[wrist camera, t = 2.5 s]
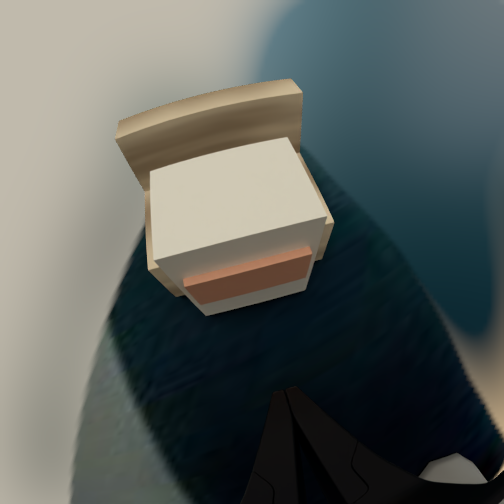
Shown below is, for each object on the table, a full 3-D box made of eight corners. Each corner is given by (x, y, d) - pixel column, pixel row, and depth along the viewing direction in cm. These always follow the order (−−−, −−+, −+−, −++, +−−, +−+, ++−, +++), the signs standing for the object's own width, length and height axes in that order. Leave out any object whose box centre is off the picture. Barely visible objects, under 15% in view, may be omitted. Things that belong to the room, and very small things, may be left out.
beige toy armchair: (319, 264, 21) (352, 160, 11) (180, 300, 20) (103, 223, 10) (286, 182, 24) (288, 75, 15) (169, 212, 24) (119, 117, 14)
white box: (307, 295, 18) (331, 224, 10) (207, 321, 18) (154, 269, 10) (284, 229, 21) (287, 137, 13) (194, 252, 20) (150, 171, 12)
